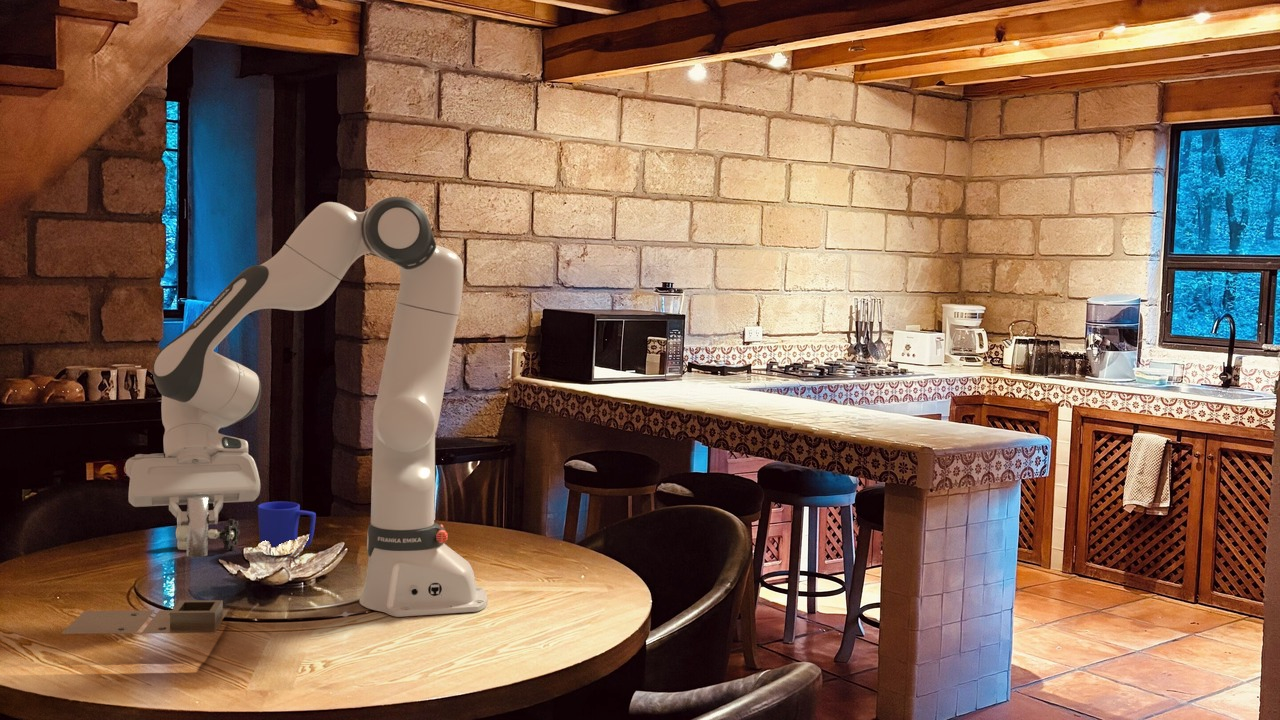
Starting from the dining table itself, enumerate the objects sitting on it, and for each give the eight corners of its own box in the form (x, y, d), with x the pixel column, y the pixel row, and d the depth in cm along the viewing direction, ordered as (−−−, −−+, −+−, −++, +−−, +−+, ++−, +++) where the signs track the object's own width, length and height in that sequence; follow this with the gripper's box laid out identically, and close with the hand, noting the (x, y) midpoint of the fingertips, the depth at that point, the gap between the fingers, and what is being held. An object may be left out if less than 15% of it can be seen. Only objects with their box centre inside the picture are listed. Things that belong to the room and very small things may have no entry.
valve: (169, 551, 239) (226, 555, 238) (169, 519, 238) (226, 522, 237) (183, 543, 245) (239, 547, 245) (184, 512, 245) (240, 515, 244)
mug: (304, 562, 235) (305, 512, 234) (249, 556, 237) (249, 507, 236) (323, 552, 243) (324, 504, 242) (269, 547, 245) (270, 500, 244)
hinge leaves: (228, 616, 198) (228, 595, 198) (214, 639, 186) (214, 617, 186) (84, 618, 194) (84, 596, 194) (60, 641, 182) (60, 618, 182)
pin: (209, 552, 192) (210, 495, 191) (205, 557, 189) (206, 499, 188) (188, 552, 192) (189, 495, 191) (184, 557, 188) (185, 499, 188)
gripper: (125, 443, 190) (128, 516, 182) (257, 440, 200) (265, 509, 192) (124, 466, 195) (126, 537, 187) (252, 461, 204) (260, 529, 196)
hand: (198, 523), depth 189 cm, fingers closed on pin, 3 cm apart
